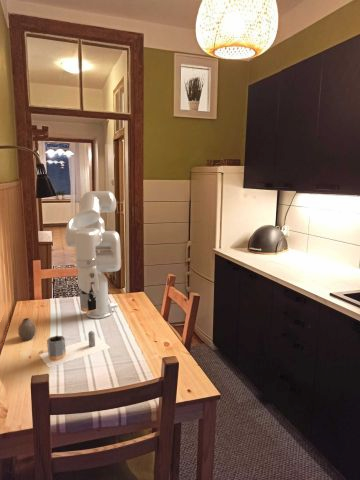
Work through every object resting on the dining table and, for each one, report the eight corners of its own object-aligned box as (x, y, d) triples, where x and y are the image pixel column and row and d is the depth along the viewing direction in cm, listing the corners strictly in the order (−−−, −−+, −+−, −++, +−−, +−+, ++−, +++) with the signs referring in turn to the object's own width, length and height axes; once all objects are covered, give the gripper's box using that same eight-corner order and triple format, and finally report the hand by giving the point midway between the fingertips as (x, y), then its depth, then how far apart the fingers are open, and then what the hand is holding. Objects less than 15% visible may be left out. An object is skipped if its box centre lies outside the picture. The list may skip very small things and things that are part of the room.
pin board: (97, 340, 148) (96, 323, 147) (110, 351, 138) (109, 332, 137) (39, 358, 134) (37, 339, 132) (48, 371, 124) (47, 351, 123)
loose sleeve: (92, 305, 141) (91, 288, 140) (98, 309, 137) (97, 292, 136) (79, 308, 138) (78, 291, 137) (84, 312, 133) (83, 295, 132)
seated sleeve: (62, 351, 136) (61, 334, 134) (67, 357, 131) (66, 339, 130) (47, 355, 132) (45, 338, 131) (51, 362, 128) (50, 344, 126)
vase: (39, 335, 153) (38, 317, 151) (28, 342, 146) (26, 323, 145) (27, 333, 155) (25, 315, 154) (15, 340, 149) (13, 321, 147)
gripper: (104, 265, 130) (107, 311, 133) (87, 257, 143) (89, 299, 146) (85, 268, 125) (88, 316, 128) (69, 260, 139) (71, 303, 142)
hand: (88, 307), depth 137 cm, fingers closed on loose sleeve, 5 cm apart
